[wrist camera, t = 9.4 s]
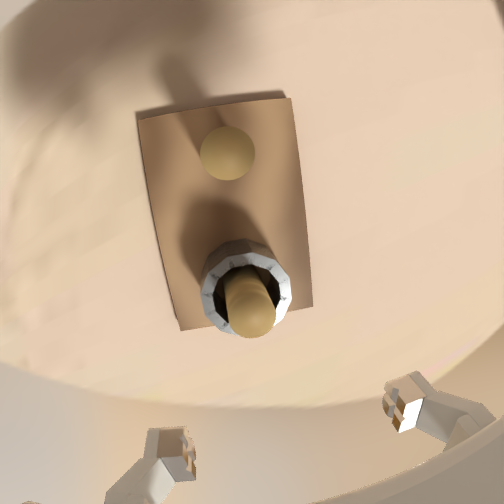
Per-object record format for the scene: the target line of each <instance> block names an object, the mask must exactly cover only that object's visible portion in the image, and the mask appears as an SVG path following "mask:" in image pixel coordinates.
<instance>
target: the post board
mask: <svg viewBox="0 0 504 504" xmlns="http://www.w3.org/2000/svg"><path fill="white" fill-rule="evenodd" d="M138 127H139V134H140V141H141V148H142V155H143V161H144V167H145V173H146V179H147V185H148V190H149V196H150V201H151V207H152V212H153V217H154V222H155V227H156V232H157V236H158V241H159V246H160V250H161V255H162V259H163V263H164V268H165V272H166V276H167V280H168V284H169V288H170V292H171V296H172V300H173V304H174V308H175V312H176V315H177V319H178V323H179V326H180V330H181V331H184V330H191V329H197V328H203V327H209V326H215V325H214V324H213V323H212V322H211V321H210V320H209V319H208V318H207V317H206V316H205V313H204V309H203V304H202V300H201V296H200V285H201V273H202V270H203V267H204V264H205V262H206V259H207V256H208V255H209V254H210V253H211V252H213V251H214V250H215V249H216V248H217V247H219V246H220V245H221V244H222V243H224V242H227V241H233V240H238V239H244V238H246V239H249V240H252V241H255V242H257V243H260V244H263V245H265V246H266V247H267V248H268V249H269V251H270V252H271V253H272V254H273V256H274V257H275V258H276V259H277V260H278V262H279V263H280V265H281V266H282V268H283V269H284V270H285V272H286V273H287V275H288V276H289V278H290V286H291V296H292V300H291V302H290V304H289V306H288V308H287V311H286V312H289V311H294V310H299V309H304V308H308V307H313V297H312V283H311V269H310V257H309V245H308V234H307V223H306V213H305V203H304V194H303V185H302V177H301V168H300V160H299V152H298V144H297V137H296V130H295V122H294V116H293V109H292V102H291V98H281V99H268V100H257V101H248V102H239V103H231V104H223V105H216V106H209V107H203V108H197V109H191V110H185V111H179V112H174V113H169V114H164V115H159V116H154V117H150V118H145V119H141V120H138ZM269 281H270V273H269V270H268V269H265V268H262V267H259V266H256V265H253V264H248V265H243V266H237V267H232V268H231V269H230V270H229V271H227V272H226V273H225V274H224V275H222V276H221V277H220V278H219V279H218V281H217V283H216V286H215V289H214V290H215V291H216V292H217V293H218V294H219V295H220V297H221V298H222V299H223V300H225V301H226V305H227V312H228V318H229V324H230V326H231V328H232V330H233V331H234V332H235V333H236V334H238V335H240V336H242V337H245V338H257V337H260V336H263V335H264V334H266V333H267V332H269V331H270V330H271V329H272V327H273V326H274V324H275V321H276V310H275V307H274V305H273V303H272V301H271V299H270V297H269V295H268V292H267V290H266V288H267V285H268V283H269Z"/></svg>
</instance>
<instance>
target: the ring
mask: <svg viewBox="0 0 504 504" xmlns="http://www.w3.org/2000/svg"><path fill="white" fill-rule="evenodd" d="M248 264H253V265H256V266H259V267H262V268H265V269H268V270H269V273H270V281H269V283H268V285H267V288H266V290H267V292H268V295H269V297H270V299H271V301H272V303H273V305H274V307H275V310H276V321H275V324H276V323H278V322H279V321H280V320H282V319H283V317H284V315H285V313H286V311H287V308H288V306H289V304H290V302H291V300H292V296H291V286H290V278H289V276H288V275H287V273H286V272H285V270H284V269H283V268H282V266H281V265H280V263H279V262H278V260H277V259H276V258H275V257H274V256H273V254H272V253H271V252H270V251H269V249H268V248H267V247H266V246H265V245H263V244H260V243H257V242H255V241H252V240H249V239H246V238H244V239H238V240H233V241H227V242H224V243H222V244H221V245H220V246H219V247H217V248H216V249H215V250H214V251H213V252H211V253H210V254H209V255H208V256H207V259H206V262H205V264H204V267H203V270H202V273H201V285H200V296H201V300H202V304H203V309H204V313H205V316H206V317H207V318H208V319H209V320H210V321H211V322H212V323H213V324H214V325H215V326H216V327H217V328H218V329H219V330H220V331H223V332H226V333H230V334H234V335H237V336H240V335H238V334H236V333H235V332H234V331H233V330H232V328H231V326H230V324H229V318H228V312H227V305H226V301H225V300H223V299H222V298H221V297H220V295H219V294H218V293H217V292H216V291H215V290H214V289H215V286H216V283H217V281H218V279H219V278H220V277H221V276H222V275H224V274H225V273H226V272H227V271H229V270H230V269H231V268H232V267H237V266H243V265H248ZM275 324H274V325H275ZM241 337H242V336H241Z"/></svg>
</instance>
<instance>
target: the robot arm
mask: <svg viewBox="0 0 504 504" xmlns="http://www.w3.org/2000/svg"><path fill="white" fill-rule="evenodd" d="M384 390H385V391H386V393H385V394H384V396H383V400H382V404H383V409H384V411H385V413H386V415H387V416H389V417H391V418H393V420H392V424H393V425H394V427H395V429H396V430H397V432H398V433H400V432H402V431H405V430H408V429H410V428H413V427H415V426H416V428H418V429H420V430H422V431H424V432H426V433H428V434H430V435H431V436H433V437H435V438H437V439H439V440H441V441H443V442H445V443H447V444H446V447H445V448H444V450H443V453H441V454H439V455H437V456H435V457H433V458H431V459H429V460H428V461H425V462H423V463H421V464H419V465H417V466H415V467H413V468H410V469H408V470H406V471H403V472H401V473H399V474H396V475H394V476H392V477H389V478H387V479H384V480H382V481H379V482H376V483H374V484H371V485H368V486H366V487H363V488H360V489H357V490H354V491H351V492H348V493H345V494H342V495H338V496H335V497H331V498H328V499H325V500H321V501H317V502H313V503H309V504H504V415H502V416H501V417H500V418H498V419H496V418H495V417H494V416H493V415H492V414H491V413H490V412H489V411H488V409H486V407H485V406H484V405H483V404H481V403H478V402H474V401H471V400H467V399H464V398H461V397H457V396H454V395H451V394H448V393H445V392H442V391H438V392H437V391H436V390H435V389H434V388H433V387H432V386H431V385H430V384H429V382H428V381H427V380H426V379H425V378H424V377H423V376H422V375H421V374H420V372H418V371H415V372H412V373H410V374H407V375H404V376H402V377H399V378H396V379H394V380H391V381H388V382H386V384H385V387H384ZM195 460H196V452H195V446H194V443H193V440H192V438H190V437H189V431H188V429H187V427H186V426H181V427H162V428H149V430H148V431H147V438H146V444H145V451H144V457H143V458H142V459H141V458H140V459H139V460H138V461H137V462H136V463H135V464H134V465H133V466H132V467H131V468H130V469H129V470H128V471H127V472H126V473H125V474H124V475H123V476H122V477H121V478H120V479H119V480H118V481H117V482H116V483H115V484H114V485H113V486H112V487H111V488H110V489H109V490H108V491H107V492H106V497H105V502H104V504H162V502H163V501H164V499H165V498H166V496H167V495H168V494H169V492H170V491H171V489H172V488H173V486H174V485H175V483H176V482H180V481H194V480H196V467H195V465H194V463H193V462H194V461H195ZM22 504H39V503H36V502H31V501H27V502H24V503H22Z"/></svg>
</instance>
